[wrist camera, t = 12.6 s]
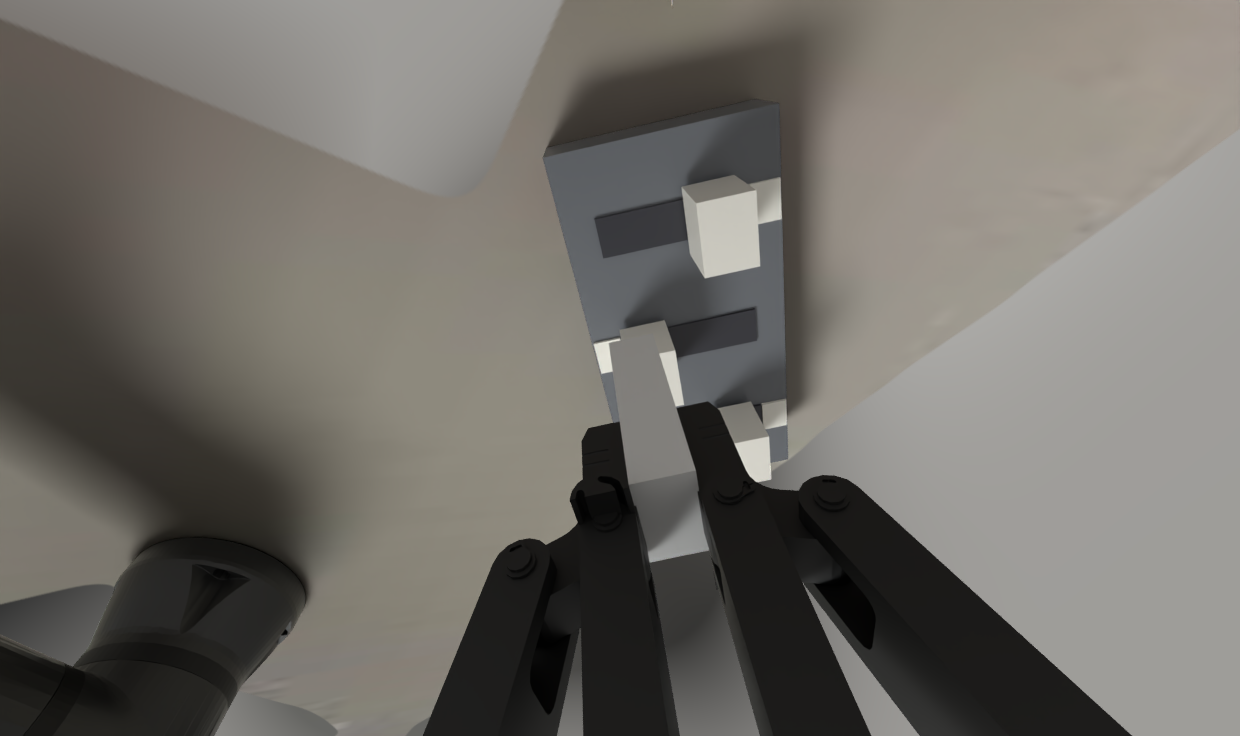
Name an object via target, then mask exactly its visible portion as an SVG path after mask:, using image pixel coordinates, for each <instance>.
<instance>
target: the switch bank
mask: <svg viewBox="0 0 1240 736" xmlns="http://www.w3.org/2000/svg"><path fill="white" fill-rule="evenodd" d="M543 160H544V164H545V168H546V172H547V176H548V179H549V183H550V187H551V191H552V194H553V198H554V202H555V206H556V209H557V213H558V217H559V221H560V224H561V228H562V232H563V236H564V239H565V243H566V247H567V251H568V255H569V258H570V262H571V266H572V270H573V273H574V277H575V281H576V285H577V288H578V292H579V296H580V300H581V303H582V307H583V311H584V315H585V318H586V322H587V326H588V330H589V334H590V337H591V341H592V345H593V349H594V352H595V356H596V360H597V364H598V367H599V371H600V375H601V379H602V382H603V386H604V390H605V394H606V397H607V401H608V405H609V409H610V412H611V416H612V420H613V423H615V422H620V420H619V413H618V406H617V398H616V391H615V384H614V377H613V370H612V363H611V356H610V349H609V343H611V342H616V341H620V340H621V336H620V330H621V329H626V328H630V327H635V326H640V325H644V324H649V323H654V322H658V321H663V320H665V323H666V325H667V328H668V331H669V334H670V337H671V340H672V343H673V345H674V348H675V352H676V358H677V364H678V370H679V377H680V383H681V389H682V395H683V401H684V405H681V406H676V408H679V407H683V406H688V405H693V404H697V403H702V402H707V401H708V402H710V403H711V404H712V405H713V406H715V407H716V408H722V407H726V406H731V405H736V404H741V403H746V402H750V401H751V403H752V405H753V407H754V409H755V411H756V412H757V414H758V416H759V418H760V420H761V422H762V424H763V426H764V428H765V430H766V432H767V433H768V435H769V445H770V463H772V462H776V461H781V460H786V459H788V434H787V394H786V353H785V313H784V273H783V232H782V192H781V151H780V111H779V103H776V102H770V101H765V100H759V99H754V100H749V101H745V102H741V103H736V104H732V105H728V106H724V107H719V108H715V109H711V110H706V111H702V112H698V113H693V114H689V115H685V116H680V117H676V118H672V119H668V120H663V121H659V122H655V123H650V124H646V125H642V126H637V127H633V128H629V129H625V130H620V131H616V132H612V133H607V134H603V135H599V136H594V137H590V138H586V139H581V140H577V141H573V142H569V143H564V144H560V145H556V146H551V147H547V148H546V150H545V153H544V156H543ZM731 175H735V176H737V177H738V178H740V179H741V180H742V181H744V182H745V183H747V184H748V185H750V186H751V187H753V188H754V189H756V193H757V213H758V232H759V252H760V267H755V268H750V269H746V270H741V271H737V272H732V273H728V274H723V275H718V276H714V277H709V278H704V276H703V275H702V273H701V271H700V270H699V268H698V266H697V265H696V263H695V262H694V260H693V258H692V257H691V255H690V250H689V242H688V234H687V227H686V219H685V211H684V203H683V196H682V188H681V187H682V186H687V185H691V184H695V183H700V182H704V181H709V180H713V179H717V178H722V177H726V176H731Z"/></svg>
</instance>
